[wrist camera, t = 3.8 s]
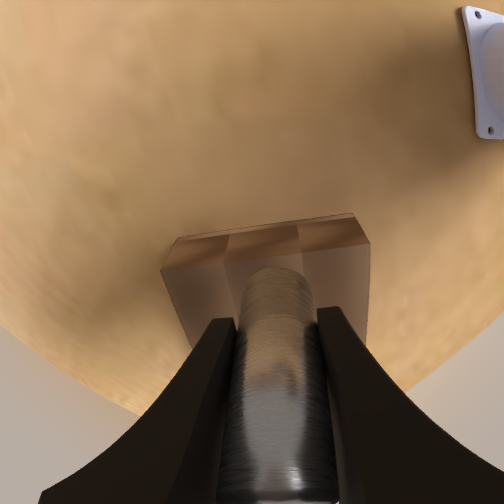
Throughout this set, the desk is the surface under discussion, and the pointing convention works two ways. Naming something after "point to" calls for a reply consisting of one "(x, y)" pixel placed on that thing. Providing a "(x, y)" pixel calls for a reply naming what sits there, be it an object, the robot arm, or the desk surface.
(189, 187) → the desk surface
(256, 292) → the pin
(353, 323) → the bore block
